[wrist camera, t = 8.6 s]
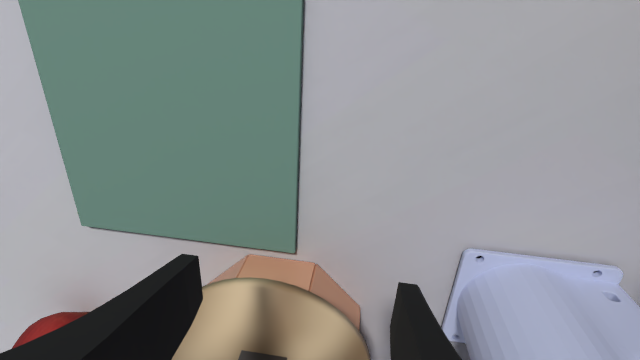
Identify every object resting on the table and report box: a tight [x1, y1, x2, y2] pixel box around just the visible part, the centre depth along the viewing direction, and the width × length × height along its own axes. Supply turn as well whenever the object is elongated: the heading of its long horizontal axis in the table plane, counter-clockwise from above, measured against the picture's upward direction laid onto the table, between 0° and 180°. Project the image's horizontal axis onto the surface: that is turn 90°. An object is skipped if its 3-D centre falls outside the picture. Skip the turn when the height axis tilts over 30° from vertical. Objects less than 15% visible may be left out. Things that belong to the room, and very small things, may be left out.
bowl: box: [207, 254, 360, 331], centre depth 26 cm, size 12×12×4 cm
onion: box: [12, 312, 89, 349], centre depth 27 cm, size 6×6×8 cm
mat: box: [18, 0, 304, 253], centre depth 22 cm, size 16×16×1 cm
